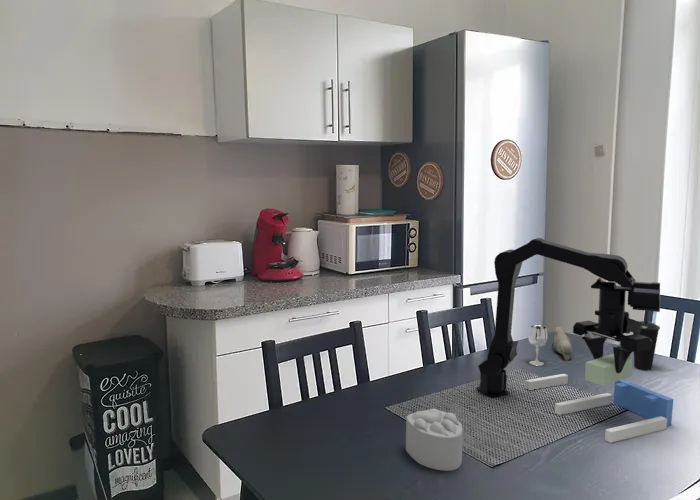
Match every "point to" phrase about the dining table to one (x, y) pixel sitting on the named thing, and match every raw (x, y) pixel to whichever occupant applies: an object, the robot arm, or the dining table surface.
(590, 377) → the plug block
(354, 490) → the dining table surface
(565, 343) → the decorative bird
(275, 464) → the dining table surface
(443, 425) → the lumpy-topped squat cylinder
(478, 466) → the dining table surface
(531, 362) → the wineglass
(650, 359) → the drinking cup
